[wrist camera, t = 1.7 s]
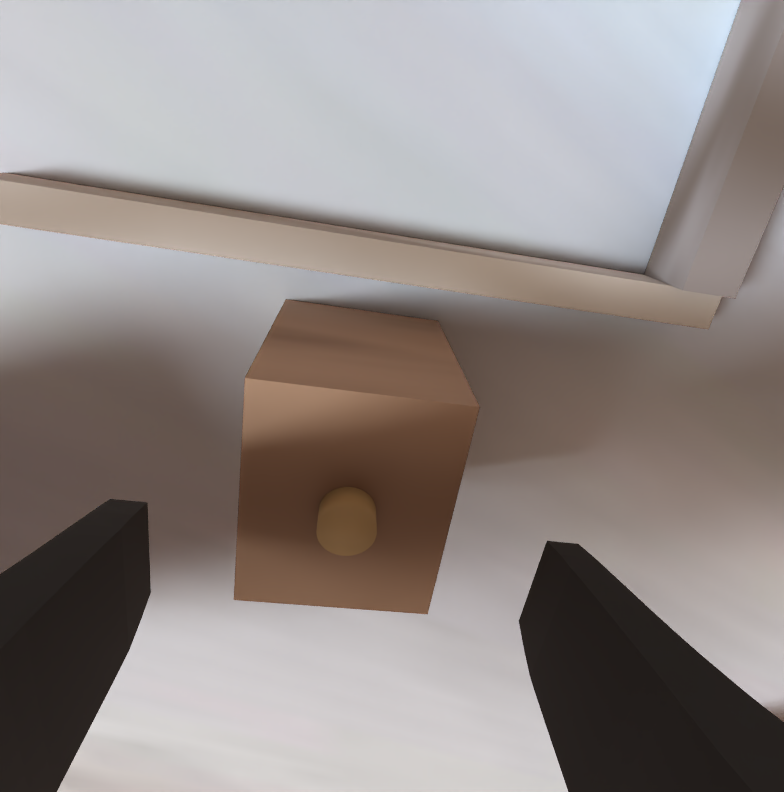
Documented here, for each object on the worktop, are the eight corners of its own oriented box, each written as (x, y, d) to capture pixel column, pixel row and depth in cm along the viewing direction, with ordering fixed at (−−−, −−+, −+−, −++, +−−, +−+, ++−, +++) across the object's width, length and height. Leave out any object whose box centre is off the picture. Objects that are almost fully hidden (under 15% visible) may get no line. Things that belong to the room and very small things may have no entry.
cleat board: (678, 314, 16) (805, 377, 11) (9, 213, 14) (-164, 241, 9) (822, -54, 12) (1094, -179, 8) (-54, -273, 10) (-392, -627, 6)
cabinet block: (406, 475, 18) (431, 638, 12) (273, 460, 17) (226, 624, 11) (437, 320, 16) (488, 423, 10) (285, 298, 15) (236, 393, 9)
